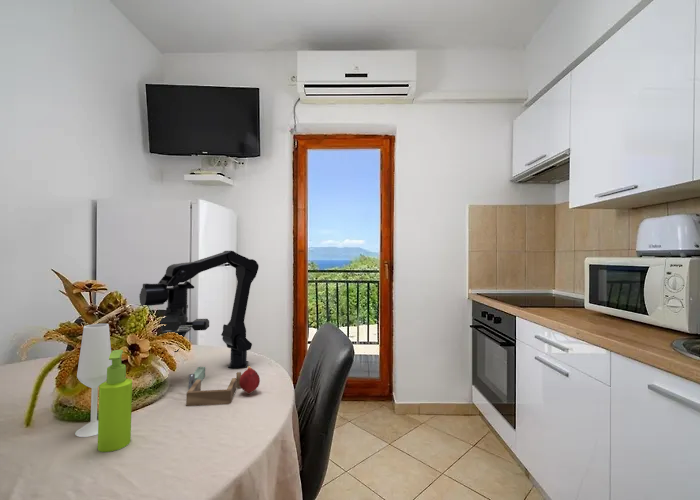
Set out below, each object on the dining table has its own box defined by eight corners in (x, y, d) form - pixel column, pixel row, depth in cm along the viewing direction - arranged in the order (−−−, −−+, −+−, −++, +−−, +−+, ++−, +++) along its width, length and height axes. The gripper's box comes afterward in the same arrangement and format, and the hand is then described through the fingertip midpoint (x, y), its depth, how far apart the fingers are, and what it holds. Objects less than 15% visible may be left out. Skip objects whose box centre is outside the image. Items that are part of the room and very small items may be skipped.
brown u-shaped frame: (198, 388, 106) (198, 373, 106) (241, 386, 108) (241, 372, 108) (186, 406, 93) (186, 389, 94) (234, 403, 96) (235, 387, 96)
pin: (189, 388, 105) (189, 373, 105) (194, 388, 106) (195, 373, 106) (187, 390, 104) (188, 375, 104) (193, 390, 104) (193, 375, 104)
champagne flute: (104, 419, 85) (107, 321, 85) (116, 428, 81) (118, 325, 82) (70, 430, 80) (73, 326, 80) (81, 440, 76) (84, 330, 76)
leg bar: (198, 376, 116) (198, 367, 116) (205, 375, 117) (205, 366, 117) (188, 388, 106) (189, 378, 106) (196, 387, 106) (196, 377, 106)
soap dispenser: (94, 457, 69) (96, 357, 70) (100, 441, 76) (102, 348, 76) (128, 450, 72) (131, 353, 72) (131, 434, 78) (134, 346, 79)
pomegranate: (262, 390, 105) (262, 363, 105) (255, 397, 100) (255, 369, 100) (243, 389, 106) (244, 362, 106) (235, 396, 100) (236, 368, 100)
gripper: (134, 307, 102) (133, 360, 102) (201, 306, 105) (200, 358, 105) (150, 302, 113) (149, 350, 113) (210, 301, 116) (209, 348, 116)
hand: (176, 351), depth 112 cm, fingers closed
